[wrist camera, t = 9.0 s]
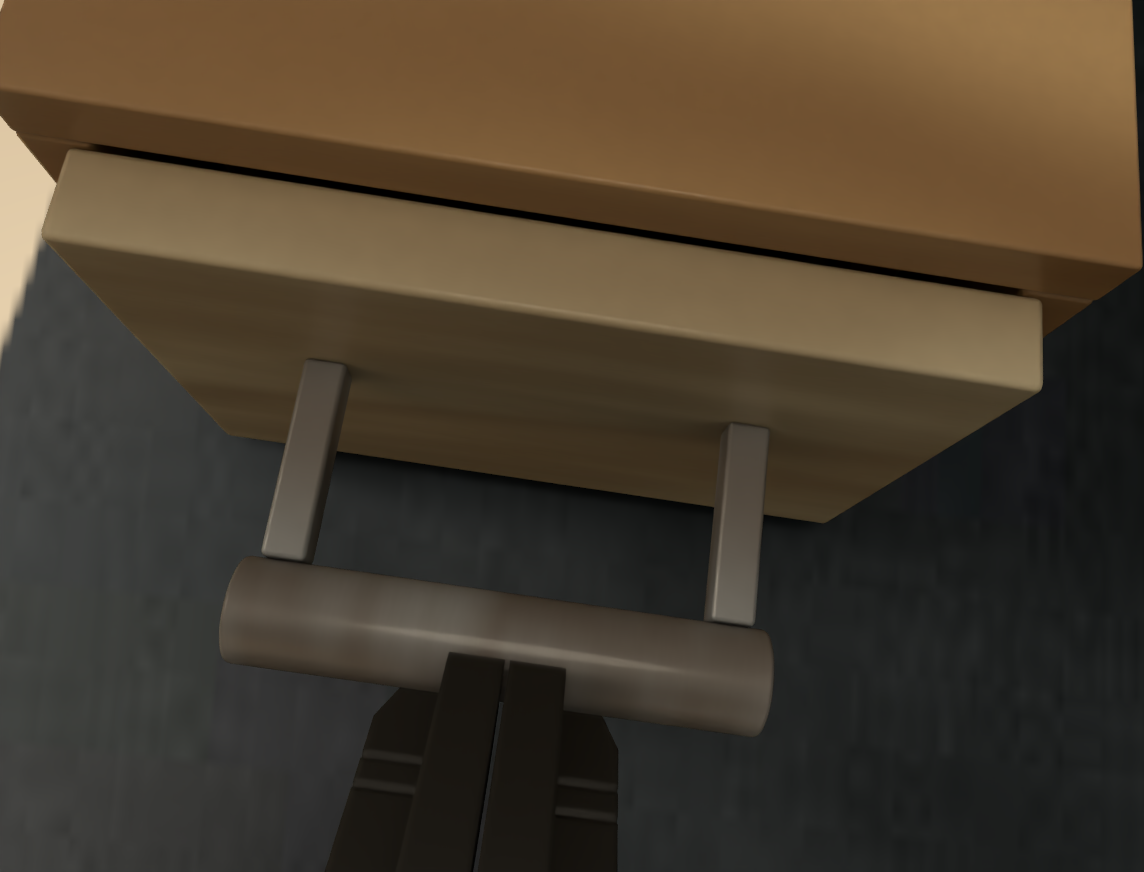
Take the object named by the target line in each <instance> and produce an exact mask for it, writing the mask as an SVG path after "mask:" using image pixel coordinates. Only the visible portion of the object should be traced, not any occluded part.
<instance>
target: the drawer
mask: <svg viewBox="0 0 1144 872" xmlns="http://www.w3.org/2000/svg"><path fill="white" fill-rule="evenodd" d="M225 166H226V168H227V170H228V172H222V171H216V170H210V169H203V168H197V167H191V166H184V165H178V164H171V163H165V162H159V161H152V160H146V159H139V158H133V157H127V156H120V155H114V154H107V153H101V152H95V151H88V150H82V149H75V148H74V149H70V150H69V151H68V152H67V154H66V157H65V160H64V163H63V166H62V170H61V173H60V176H59V179H58V182H57V185H56V188H55V191H54V194H53V197H52V200H51V203H50V206H49V209H48V212H47V215H46V218H45V221H44V224H43V227H42V238H43V239H44V240H45V241H46V242H47V244H48V245H49V246H50V247H51V248H52V249H53V250H54V251H55V252H56V253H57V254H58V255H59V256H60V257H61V258H62V259H63V260H64V262H65V263H66V264H67V265H68V266H69V267H70V268H71V269H72V270H73V271H74V272H75V273H76V274H77V275H78V276H79V277H80V278H81V280H82V281H83V282H84V283H85V284H86V285H87V286H88V287H89V288H90V289H91V290H92V291H93V292H94V293H95V294H96V295H97V296H98V298H99V299H100V300H101V301H102V302H103V303H104V304H105V305H106V306H107V307H108V308H109V309H110V310H111V311H112V312H113V313H114V314H115V316H116V317H117V318H118V319H119V320H120V321H121V322H122V323H123V324H124V325H125V326H126V327H127V328H128V329H129V330H130V331H131V332H132V334H133V335H134V336H135V337H136V338H137V339H138V340H139V341H140V342H141V343H142V344H143V345H144V346H145V347H146V348H147V349H148V350H149V352H150V353H151V354H152V355H153V356H154V357H155V358H156V359H157V360H158V361H159V362H160V363H161V364H162V365H163V366H164V367H165V368H166V370H167V371H168V372H169V373H170V374H171V375H172V376H173V377H174V378H175V379H176V380H177V381H178V382H179V383H180V384H181V385H182V386H183V387H184V389H185V390H186V391H187V392H188V393H189V394H190V395H191V396H192V397H193V398H194V399H195V400H196V401H197V402H198V403H199V404H200V405H201V407H202V408H203V409H204V410H205V411H206V412H207V413H208V414H209V415H210V416H211V417H212V418H213V419H214V420H215V421H216V422H217V423H218V425H219V426H220V427H221V428H222V429H223V430H224V431H225V432H226V433H227V434H229V435H233V436H239V437H246V438H253V439H259V440H266V441H273V442H280V443H286V445H285V449H284V453H283V458H282V462H281V466H280V471H279V475H278V479H277V484H276V488H275V493H274V497H273V501H272V506H271V510H270V514H269V519H268V523H267V527H266V532H265V536H264V540H263V545H262V549H261V551H262V554H263V555H264V556H266V557H267V558H263V557H256V556H249V557H246V558H244V559H243V560H242V561H241V562H240V563H239V565H238V566H237V568H236V570H235V572H234V574H233V576H232V578H231V581H230V583H229V586H228V589H227V592H226V595H225V599H224V603H223V608H222V613H221V619H220V628H219V645H220V653H221V656H222V658H223V659H224V660H225V661H226V662H228V663H231V664H238V665H245V666H253V667H260V668H267V669H274V670H281V671H288V672H295V673H302V674H309V675H316V676H323V677H330V678H337V679H344V680H352V681H359V682H366V683H373V684H380V685H387V686H394V687H401V688H408V689H415V690H422V691H429V692H436V693H439V690H440V686H441V681H442V677H443V673H444V669H445V665H446V661H447V657H448V654H449V652H457V653H464V654H471V655H478V656H484V657H491V658H498V659H505V665H504V672H503V679H502V686H501V693H500V700H499V701H500V702H504V698H505V691H506V685H507V679H508V672H509V666H510V660H514V661H521V662H528V663H535V664H542V665H549V666H556V667H563V668H566V681H565V694H564V707H563V710H564V711H571V712H578V713H585V714H592V715H599V716H606V717H613V718H620V719H627V720H634V721H641V722H648V723H656V724H663V725H670V726H677V727H684V728H691V729H698V730H705V731H712V732H719V733H726V734H733V735H740V736H747V737H755V736H758V735H759V734H760V733H761V731H762V729H763V727H764V725H765V723H766V720H767V717H768V714H769V710H770V705H771V700H772V693H773V684H774V654H773V647H772V643H771V639H770V636H769V635H768V633H767V632H765V631H764V630H760V629H753V628H747V627H750V626H752V625H754V623H755V616H756V604H757V591H758V578H759V566H760V553H761V540H762V527H763V515H764V514H765V515H772V516H778V517H785V518H792V519H799V520H805V521H812V522H819V523H825V522H828V521H829V520H831V519H833V518H834V517H836V516H838V515H839V514H841V513H842V512H844V511H846V510H847V509H849V508H851V507H852V506H854V505H855V504H857V503H859V502H860V501H862V500H864V499H865V498H867V497H868V496H870V495H872V494H873V493H875V492H877V491H878V490H880V489H882V488H883V487H885V486H886V485H888V484H890V483H891V482H893V481H895V480H896V479H898V478H899V477H901V476H903V475H904V474H906V473H908V472H909V471H911V470H912V469H914V468H916V467H917V466H919V465H921V464H922V463H924V462H926V461H927V460H929V459H930V458H932V457H934V456H935V455H937V454H939V453H940V452H942V451H943V450H945V449H947V448H948V447H950V446H952V445H953V444H955V443H956V442H958V441H960V440H961V439H963V438H965V437H966V436H968V435H970V434H971V433H973V432H974V431H976V430H978V429H979V428H981V427H983V426H984V425H986V424H987V423H989V422H991V421H992V420H994V419H996V418H997V417H999V416H1001V415H1002V414H1004V413H1005V412H1007V411H1009V410H1010V409H1012V408H1014V407H1015V406H1017V405H1018V404H1020V403H1022V402H1023V401H1025V400H1027V399H1028V398H1030V397H1031V396H1033V395H1035V394H1036V393H1038V392H1040V390H1041V388H1042V385H1043V331H1042V303H1041V301H1040V300H1038V299H1034V298H1028V297H1022V296H1015V295H1009V294H1003V293H996V292H990V291H983V290H977V289H971V288H964V287H958V286H951V285H945V284H939V283H932V282H926V281H919V280H913V279H907V278H900V277H895V276H896V275H897V274H898V273H899V272H900V271H901V270H898V269H891V268H885V267H879V266H872V265H866V264H859V263H853V262H847V261H840V260H834V259H828V258H821V257H815V256H808V255H802V254H796V253H789V252H783V251H776V250H770V249H764V248H757V247H751V246H745V245H738V244H732V243H725V242H719V241H713V240H706V239H700V238H693V237H687V236H681V235H674V234H668V233H662V232H655V231H649V230H642V229H636V228H630V227H623V226H617V225H610V224H604V223H598V222H591V221H585V220H579V219H572V218H566V217H559V216H553V215H547V214H540V213H534V212H527V211H521V210H515V209H508V208H502V207H496V206H489V205H483V204H476V203H470V202H464V201H457V200H451V199H444V198H438V197H432V196H425V195H419V194H413V193H406V192H400V191H393V190H387V189H381V188H374V187H368V186H361V185H355V184H349V183H342V182H336V181H330V180H323V179H317V178H310V177H304V176H298V175H291V174H285V173H279V172H272V171H266V170H259V169H253V168H247V167H240V166H234V165H227V164H225ZM337 451H340V452H347V453H354V454H361V455H367V456H374V457H381V458H387V459H394V460H401V461H408V462H414V463H421V464H428V465H435V466H441V467H448V468H455V469H462V470H468V471H475V472H482V473H489V474H495V475H502V476H509V477H516V478H522V479H529V480H536V481H542V482H549V483H556V484H563V485H569V486H576V487H583V488H590V489H596V490H603V491H610V492H617V493H623V494H630V495H637V496H644V497H650V498H657V499H664V500H671V501H677V502H684V503H691V504H697V505H704V506H711V507H714V515H713V526H712V537H711V547H710V558H709V569H708V579H707V590H706V600H705V611H704V621H698V620H691V619H684V618H677V617H671V616H664V615H657V614H650V613H643V612H636V611H629V610H622V609H615V608H608V607H601V606H595V605H588V604H581V603H574V602H567V601H560V600H553V599H546V598H539V597H532V596H526V595H519V594H512V593H505V592H498V591H491V590H484V589H477V588H470V587H463V586H456V585H450V584H443V583H436V582H429V581H422V580H415V579H408V578H401V577H394V576H387V575H381V574H374V573H367V572H360V571H353V570H346V569H339V568H332V567H325V566H318V565H311V564H312V563H313V560H314V555H315V551H316V546H317V541H318V537H319V532H320V527H321V523H322V518H323V513H324V509H325V504H326V499H327V494H328V490H329V485H330V480H331V476H332V471H333V466H334V462H335V457H336V452H337Z"/></svg>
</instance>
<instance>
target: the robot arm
mask: <svg viewBox="0 0 1144 872" xmlns="http://www.w3.org/2000/svg"><path fill="white" fill-rule="evenodd" d="M504 665H505V659H498V658H491V657H484V656H478V655H471V654H464V653H457V652H449V654H448V657H447V661H446V665H445V669H444V673H443V677H442V681H441V686H440V690H439V693H436V692H429V691H422V690H415V689H408V688H401V687H400V688H399V689H398V690H397V691H396V692H395V693H394V695H393V696H392V697H391V698H390V699H389V700H388V701H387V702H386V703H385V704H384V705H383V706H382V707H381V708H380V710H379V711H378V712H377V713H376V714H375V715H374V717H373V720H372V723H371V726H370V730H369V733H368V736H367V739H366V742H365V745H364V749H363V753H362V758H360V761H359V764H358V768H357V771H356V774H355V777H354V781H353V786H352V787H351V790H350V793H349V796H348V799H347V803H346V806H345V809H344V812H343V815H342V818H341V822H340V825H339V828H338V831H337V834H336V837H335V841H334V844H333V847H332V850H331V853H330V857H329V860H328V863H327V866H326V869H325V872H473V869H474V863H475V857H476V850H477V844H478V838H479V832H480V825H481V819H482V813H483V807H484V800H485V794H486V788H487V781H488V775H489V768H490V762H491V755H492V748H493V741H494V734H495V728H496V721H497V714H498V707H499V700H500V693H501V686H502V679H503V672H504ZM565 681H566V668H563V667H556V666H549V665H542V664H535V663H528V662H521V661H514V660H510V666H509V672H508V679H507V685H506V691H505V698H504V704H503V711H502V717H501V724H500V730H499V737H498V743H497V750H496V756H495V763H494V769H493V775H492V782H491V788H490V795H489V801H488V808H487V814H486V821H485V827H484V834H483V840H482V847H481V853H480V859H479V866H478V872H617V830H618V824H617V817H618V794H617V789H618V748H617V746H616V744H615V742H614V740H613V738H612V736H611V734H610V732H609V730H608V728H607V725H606V723H605V721H604V719H603V717H602V716H599V715H592V714H585V713H578V712H571V711H564V710H563V707H564V694H565Z"/></svg>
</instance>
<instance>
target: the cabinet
mask: <svg viewBox="0 0 1144 872" xmlns="http://www.w3.org/2000/svg"><path fill="white" fill-rule="evenodd" d="M0 116H1V117H2V118H3V119H4V121H5V122H6V123H7V124H8V126H9V127H10V128H11V129H13V130H14V131H16V133H17V136H18V137H19V138H20V139H21V141H22V142H23V143H24V144H25V146H26V147H27V148H28V149H29V150H30V152H31V153H32V154H33V155H34V157H35V158H36V159H37V160H38V161H39V163H40V164H41V165H42V166H43V167H44V169H45V170H46V171H47V172H48V174H49V175H50V176H51V177H52V178H53V180H54V181H55V182H56V183H57V182H58V179H59V176H60V173H61V170H62V166H63V163H64V160H65V157H66V154H67V152H68V151H69V150H70V149H74V148H75V149H82V150H88V151H95V152H101V153H107V154H114V155H120V156H127V157H133V158H139V159H146V160H152V161H159V162H165V163H171V164H178V165H184V166H191V167H197V168H203V169H210V170H216V171H222V172H228V170H227V168H226V166H225V164H227V165H234V166H240V167H247V168H253V169H259V170H266V171H272V172H279V173H285V174H291V175H298V176H304V177H310V178H317V179H323V180H330V181H336V182H342V183H349V184H355V185H361V186H368V187H374V188H381V189H387V190H393V191H400V192H406V193H413V194H419V195H425V196H432V197H438V198H444V199H451V200H457V201H464V202H470V203H476V204H483V205H489V206H496V207H502V208H508V209H515V210H521V211H527V212H534V213H540V214H547V215H553V216H559V217H566V218H572V219H579V220H585V221H591V222H598V223H604V224H610V225H617V226H623V227H630V228H636V229H642V230H649V231H655V232H662V233H668V234H674V235H681V236H687V237H693V238H700V239H706V240H713V241H719V242H725V243H732V244H738V245H745V246H751V247H757V248H764V249H770V250H776V251H783V252H789V253H796V254H802V255H808V256H815V257H821V258H828V259H834V260H840V261H847V262H853V263H859V264H866V265H872V266H879V267H885V268H891V269H898V270H901V271H900V272H899V273H898V274H897V275H896V276H895V277H900V278H907V279H913V280H919V281H926V282H932V283H939V284H945V285H951V286H958V287H964V288H971V289H977V290H983V291H990V292H996V293H1003V294H1009V295H1015V296H1022V297H1028V298H1034V299H1038V300H1040V301H1041V303H1042V331H1043V337H1045V336H1046V335H1048V334H1049V333H1050V332H1052V331H1053V330H1055V329H1056V328H1057V327H1059V326H1060V325H1062V324H1063V323H1064V322H1066V321H1067V320H1069V319H1070V318H1072V317H1073V316H1074V315H1076V314H1077V313H1079V312H1080V311H1081V310H1083V309H1084V308H1086V307H1087V306H1088V305H1090V304H1091V303H1092V301H1093V300H1097V299H1100V298H1101V297H1103V296H1104V295H1105V294H1107V293H1108V292H1110V291H1111V290H1113V289H1114V288H1115V287H1117V286H1118V285H1120V284H1121V283H1122V282H1124V281H1125V280H1127V279H1128V278H1130V277H1131V276H1132V275H1134V274H1135V273H1137V272H1138V271H1139V270H1141V268H1142V265H1143V256H1142V232H1141V207H1140V183H1139V159H1138V134H1137V110H1136V86H1135V61H1134V37H1133V13H1132V0H4V3H3V6H2V9H1V11H0Z"/></svg>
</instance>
